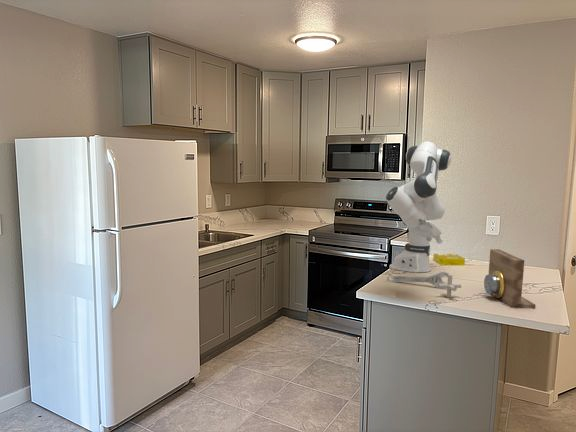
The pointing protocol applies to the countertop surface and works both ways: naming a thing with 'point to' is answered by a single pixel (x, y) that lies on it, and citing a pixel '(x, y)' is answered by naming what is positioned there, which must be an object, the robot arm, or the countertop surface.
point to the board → (510, 277)
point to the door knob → (495, 284)
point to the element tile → (448, 259)
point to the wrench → (421, 278)
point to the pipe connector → (449, 285)
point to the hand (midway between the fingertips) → (435, 241)
